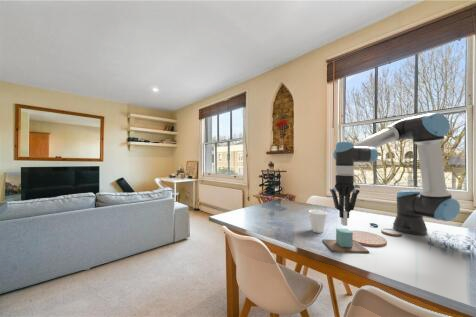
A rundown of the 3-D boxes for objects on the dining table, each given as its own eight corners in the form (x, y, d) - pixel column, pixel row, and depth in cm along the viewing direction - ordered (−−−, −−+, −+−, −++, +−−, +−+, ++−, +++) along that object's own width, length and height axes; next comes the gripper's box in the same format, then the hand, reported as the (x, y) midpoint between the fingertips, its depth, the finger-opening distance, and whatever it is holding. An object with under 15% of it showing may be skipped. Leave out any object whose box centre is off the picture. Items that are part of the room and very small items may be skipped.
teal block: (347, 242, 98) (347, 228, 98) (352, 247, 92) (352, 232, 92) (336, 242, 98) (336, 228, 98) (340, 246, 93) (340, 232, 93)
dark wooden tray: (355, 242, 100) (355, 227, 100) (369, 253, 89) (369, 237, 89) (322, 240, 102) (322, 227, 102) (331, 251, 90) (331, 236, 90)
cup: (328, 235, 110) (329, 214, 110) (309, 233, 112) (309, 213, 112) (324, 228, 119) (324, 210, 119) (307, 227, 121) (307, 209, 121)
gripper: (354, 174, 98) (354, 222, 98) (327, 174, 99) (327, 221, 99) (363, 175, 91) (363, 227, 91) (333, 175, 92) (333, 227, 92)
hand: (344, 224), depth 95 cm, fingers closed
